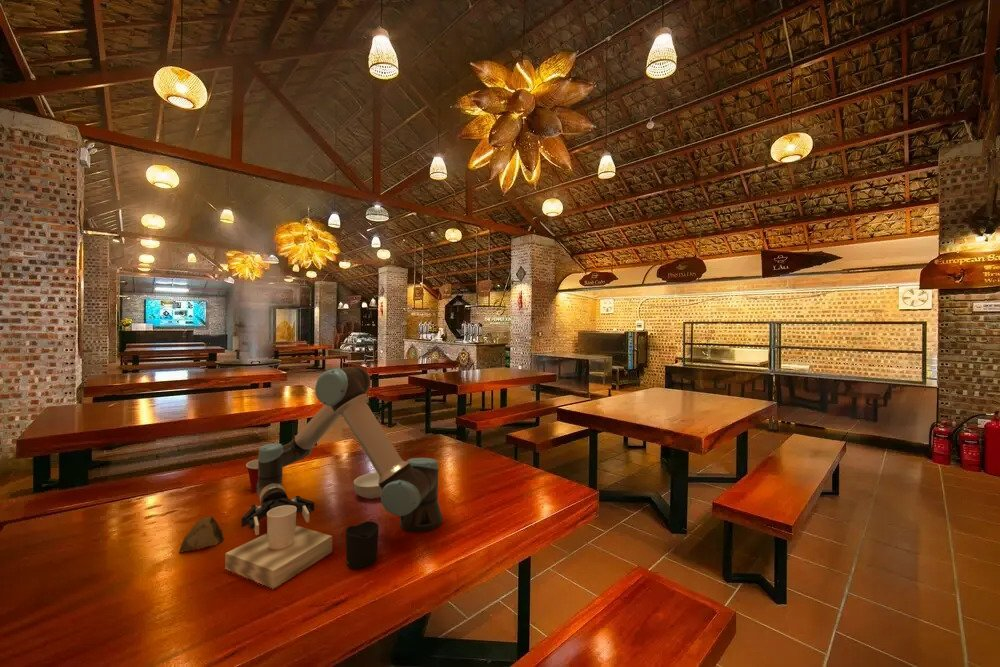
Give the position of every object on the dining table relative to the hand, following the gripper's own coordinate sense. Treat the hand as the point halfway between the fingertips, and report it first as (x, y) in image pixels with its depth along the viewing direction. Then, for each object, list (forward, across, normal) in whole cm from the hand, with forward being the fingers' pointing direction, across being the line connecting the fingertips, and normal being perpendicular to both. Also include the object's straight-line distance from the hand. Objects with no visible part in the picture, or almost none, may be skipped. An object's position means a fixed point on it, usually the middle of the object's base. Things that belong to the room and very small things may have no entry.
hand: (283, 523), depth 116 cm
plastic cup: (-68, -1, -13) cm, 70 cm away
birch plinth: (-3, 0, -12) cm, 13 cm away
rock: (-27, +19, -13) cm, 36 cm away
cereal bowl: (-35, -39, -13) cm, 54 cm away
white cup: (-4, 0, -8) cm, 8 cm away
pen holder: (+11, -20, -13) cm, 26 cm away
